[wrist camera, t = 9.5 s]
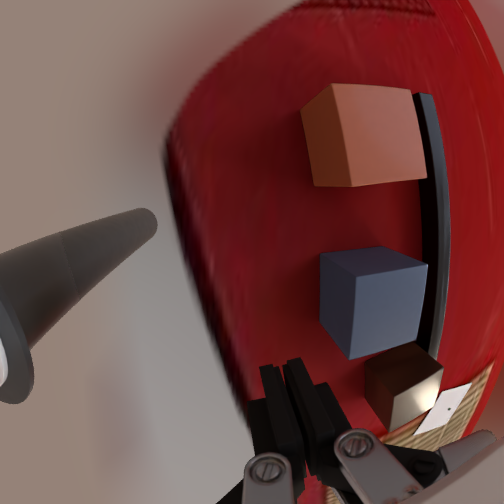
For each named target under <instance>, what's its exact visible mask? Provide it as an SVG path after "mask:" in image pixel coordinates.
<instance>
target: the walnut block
mask: <svg viewBox="0 0 504 504" xmlns="http://www.w3.org/2000/svg"><path fill="white" fill-rule="evenodd" d="M443 369H444V367H443V366H442V365H441V364H440V363H438V362H437V361H436V360H435V359H434V358H433V357H431V356H430V355H429V354H428V353H427V352H425V351H424V350H423V349H422V348H421V347H419V346H418V345H417V344H416V343H415V342H413V341H411V342H408V343H405V344H402V345H399V346H397V347H395V348H393V349H391V350H389V351H387V352H385V353H383V354H380V355H378V356H376V357H374V358H372V359H370V360H367V361H365V399H366V401H367V402H368V403H369V405H370V406H371V408H372V409H373V411H374V412H375V413H376V415H377V416H378V418H379V419H380V421H381V422H382V423H383V425H384V426H385V428H386V429H387V431H388V432H391V431H393V430H395V429H396V428H398V427H400V426H402V425H404V424H405V423H407V422H409V421H411V420H412V419H414V418H416V417H417V416H419V415H421V414H422V413H424V412H425V411H427V410H429V409H430V408H432V407H433V406H434V405H435V402H436V398H437V394H438V390H439V386H440V382H441V378H442V374H443Z"/></svg>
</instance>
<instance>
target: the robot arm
mask: <svg viewBox="0 0 504 504" xmlns="http://www.w3.org/2000/svg"><path fill="white" fill-rule="evenodd" d="M282 366H283V373H284V379H285V384H284V381H283V378H282V375H281V372H280V369H279V366H277V367H273V364H270V365H265V366H261V367H259V369H260V374H261V378H262V383H263V387H264V392H265V396H266V398H262V399H257V400H252V401H247V407H248V414H249V421H250V427H251V433H252V440H253V446H254V452H255V456H254V457H253V458H252V459H250V460H249V461H248V463H247V464H246V466H245V469H244V478H243V479H242V480H241V481H240V482H239V483H238V484H237V485H236V486H235V487H234V488H233V489H232V490H231V491H230V492H228V493H227V494H226V495H225V496H224V497H223V498H222V499H221V500H220V501H218V502H217V503H216V504H298V503H297V498H298V497H299V496H300V495H301V493H302V492H303V491H304V490H305V484H304V478H306V477H307V474H306V463H307V466H308V469H309V472H310V475H311V476H314V475H316V476H317V479H318V481H320V480H321V481H322V484H324V485H327V486H330V487H331V488H332V490H333V492H334V493H335V495H336V497H337V498H338V500H339V501H340V503H341V504H504V437H502V438H500V439H498V440H497V439H496V437H495V435H494V434H493V433H492V432H491V431H489V430H483V429H482V430H479V431H476V432H474V433H472V434H470V435H468V436H466V437H463V438H461V439H459V440H457V441H454V442H452V443H449V444H447V445H444V446H442V447H439V449H438V450H436V451H434V452H431V451H426V450H418V449H412V448H405V447H399V446H394V445H388V444H383V443H382V442H381V441H380V440H379V439H378V438H377V437H376V435H375V434H373V433H372V432H371V431H369V430H366V429H361V428H355V429H352V427H351V425H350V423H349V422H348V420H347V418H346V416H345V414H344V412H343V410H342V409H341V407H340V405H339V403H338V401H337V399H336V398H335V396H334V394H333V392H332V390H331V388H330V387H329V385H328V383H326V382H325V383H321V384H318V385H315V386H314V384H313V382H312V380H311V378H310V376H309V374H308V372H307V370H306V368H305V366H304V363H303V361H302V359H301V358H300V357H299V358H295V359H291V360H287V364H285V365H282ZM7 376H8V364H7V358H6V354H5V350H4V347H3V344H2V341H1V339H0V386H1V385H2V384H3V383H4V382H5V381H6V378H7ZM285 386H286V387H285ZM305 460H306V463H305Z"/></svg>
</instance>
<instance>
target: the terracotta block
mask: <svg viewBox="0 0 504 504" xmlns="http://www.w3.org/2000/svg"><path fill="white" fill-rule="evenodd" d="M300 113H301V118H302V123H303V128H304V133H305V138H306V143H307V148H308V154H309V159H310V165H311V170H312V176H313V183H314V186H315V187H356V186H363V185H371V184H379V183H387V182H395V181H404V180H414V179H424V178H427V173H426V166H425V158H424V152H423V146H422V140H421V135H420V130H419V125H418V120H417V116H416V111H415V107H414V103H413V99H412V95H411V91H410V90H409V89H402V88H394V87H385V86H375V85H361V84H336V83H331V84H330V85H329V86H327V87H326V88H325V89H324V90H323V91H321V92H320V93H319V94H318V95H317V96H315V97H314V98H313V99H312V100H311V101H309V102H308V103H307V104H306V105H305V106H304V107H302V108H301V109H300Z"/></svg>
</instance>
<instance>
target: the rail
mask: <svg viewBox="0 0 504 504" xmlns="http://www.w3.org/2000/svg"><path fill="white" fill-rule="evenodd" d="M412 99H413V103H414V107H415V111H416V116H417V120H418V125H419V130H420V135H421V140H422V146H423V152H424V158H425V166H426V173H427V178H424V179H418V181H419V190H420V201H421V216H422V249H423V255H422V262H423V263H426V264H428V267H427V276H426V284H425V292H424V298H423V305H422V311H421V316H420V322H419V327H418V332H417V339H416V344H417V345H418V346H419V347H421V348H422V349H423V350H424V351H425V352H427V353H428V354H429V355H430V356H431V357H433V358H434V359H435V360H436V359H437V355H438V350H439V345H440V340H441V335H442V329H443V323H444V316H445V309H446V301H447V292H448V281H449V267H450V204H449V190H448V179H447V170H446V162H445V155H444V149H443V142H442V137H441V132H440V126H439V122H438V117H437V113H436V108H435V104H434V100H433V97H432V95H431V94H426V93H420V92H418V93H416V94H413V95H412Z"/></svg>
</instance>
